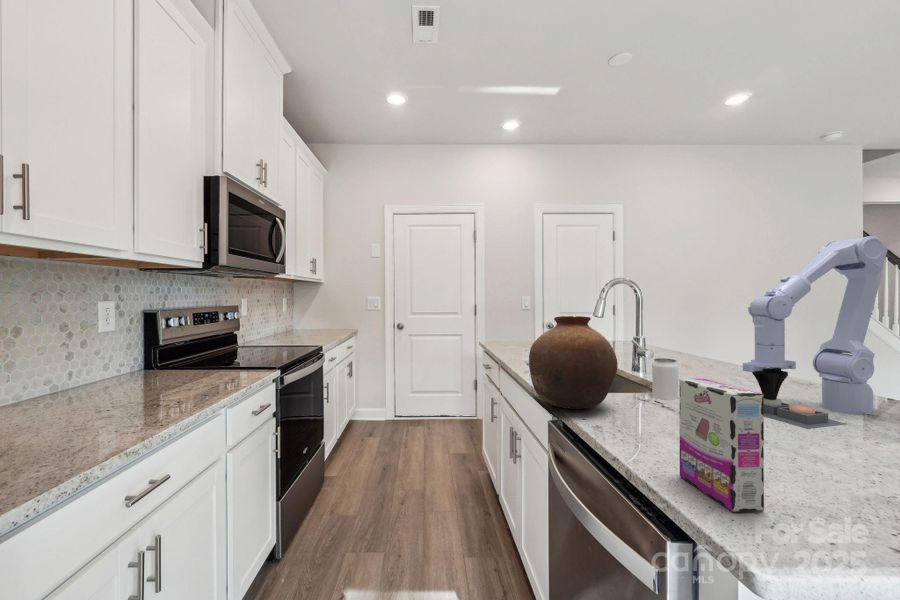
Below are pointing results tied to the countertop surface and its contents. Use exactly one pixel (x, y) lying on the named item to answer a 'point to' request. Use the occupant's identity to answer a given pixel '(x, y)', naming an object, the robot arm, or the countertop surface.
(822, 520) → the countertop surface
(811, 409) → the terracotta button
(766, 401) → the sage button
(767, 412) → the panel
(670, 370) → the can
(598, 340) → the pottery
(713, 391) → the candy bar box
